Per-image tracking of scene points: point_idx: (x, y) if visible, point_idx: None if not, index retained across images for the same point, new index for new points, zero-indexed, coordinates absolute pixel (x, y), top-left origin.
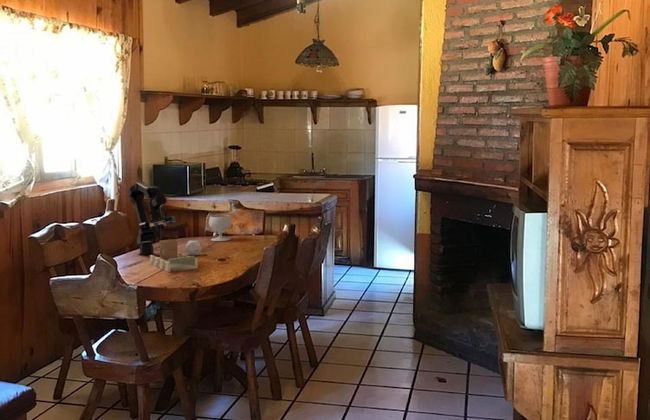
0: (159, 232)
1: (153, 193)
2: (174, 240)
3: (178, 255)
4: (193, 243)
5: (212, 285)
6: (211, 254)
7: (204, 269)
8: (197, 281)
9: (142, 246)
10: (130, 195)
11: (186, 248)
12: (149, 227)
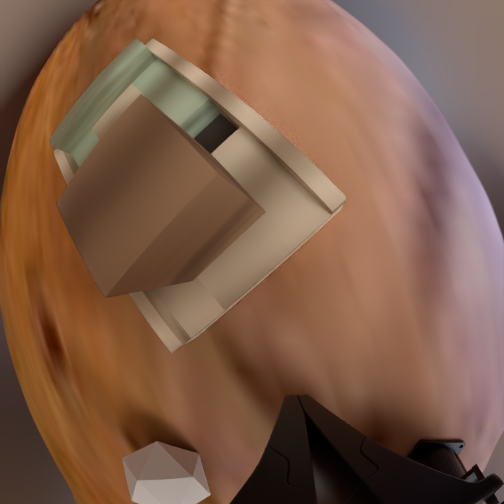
0: (280, 442)
1: None
2: (74, 226)
3: (165, 307)
4: (135, 473)
5: (69, 29)
6: (120, 449)
7: None
8: (88, 31)
9: (458, 470)
10: None
11: (185, 468)
12: (500, 481)
